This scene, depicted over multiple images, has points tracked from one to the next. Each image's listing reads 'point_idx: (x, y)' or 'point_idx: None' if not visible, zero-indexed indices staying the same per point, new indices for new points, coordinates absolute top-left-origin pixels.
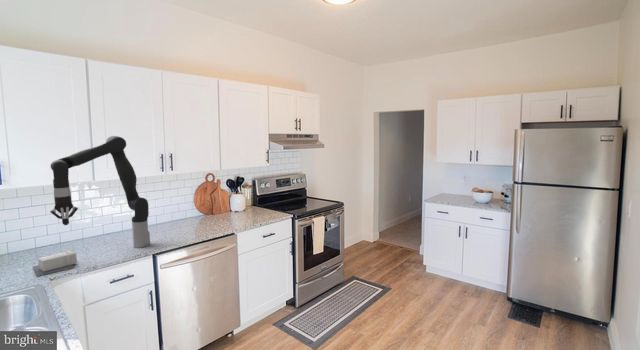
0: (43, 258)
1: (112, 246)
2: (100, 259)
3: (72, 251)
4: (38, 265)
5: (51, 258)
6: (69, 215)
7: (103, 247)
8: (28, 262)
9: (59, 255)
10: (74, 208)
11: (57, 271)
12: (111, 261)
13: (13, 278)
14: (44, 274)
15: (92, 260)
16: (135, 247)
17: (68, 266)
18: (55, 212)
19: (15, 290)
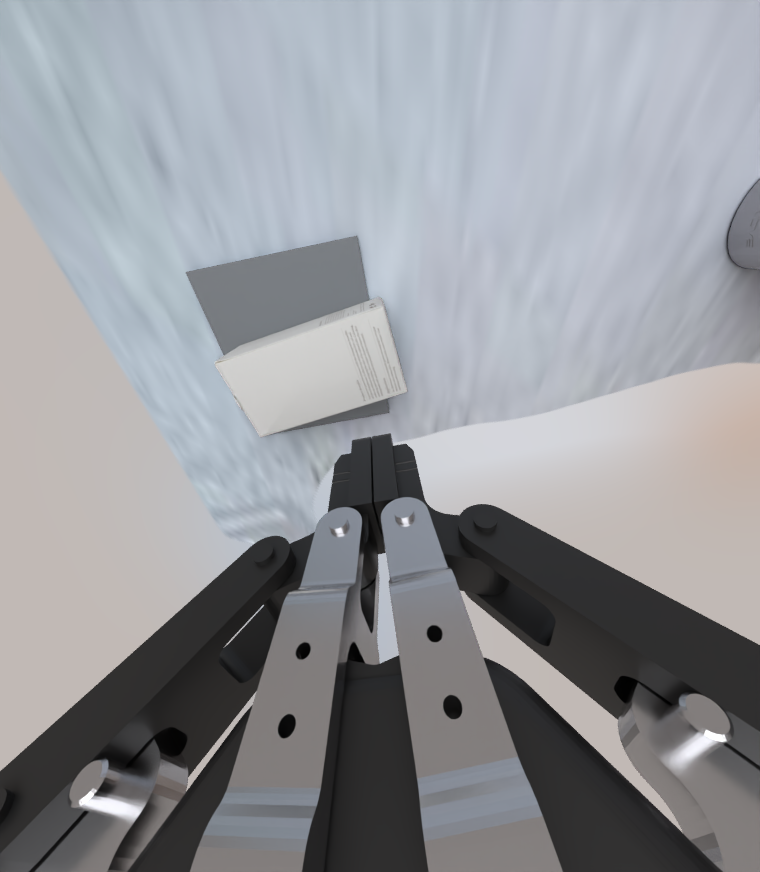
0: (251, 397)
1: (671, 39)
2: (500, 354)
3: (390, 345)
4: (213, 274)
5: (294, 421)
6: (463, 583)
7: (612, 9)
8: (95, 96)
9: (327, 394)
10: (717, 787)
11: (328, 422)
12: (527, 414)
13: (167, 399)
14: (285, 430)
15: (467, 346)
16: (728, 244)
17: None
18: (176, 771)
19: (234, 513)
